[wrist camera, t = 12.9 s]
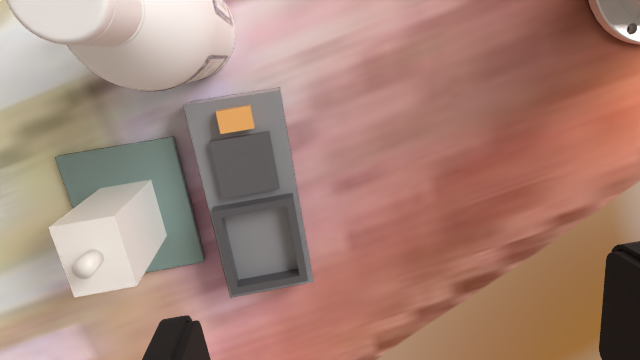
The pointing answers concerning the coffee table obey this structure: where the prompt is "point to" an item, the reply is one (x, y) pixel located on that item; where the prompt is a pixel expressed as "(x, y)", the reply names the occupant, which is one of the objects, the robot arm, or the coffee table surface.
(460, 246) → the coffee table surface
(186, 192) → the mat
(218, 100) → the power strip
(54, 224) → the block
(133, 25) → the bath foam
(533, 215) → the coffee table surface
